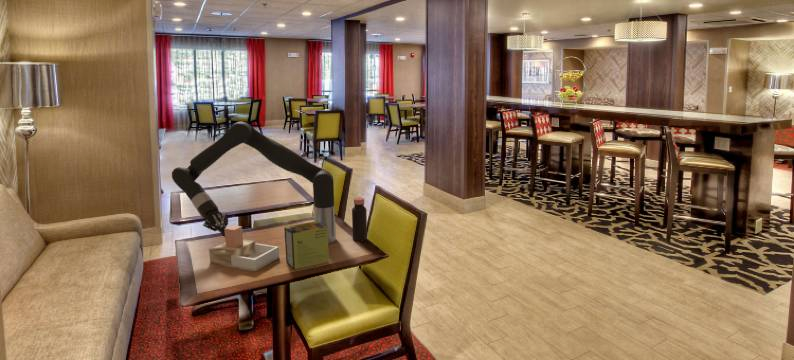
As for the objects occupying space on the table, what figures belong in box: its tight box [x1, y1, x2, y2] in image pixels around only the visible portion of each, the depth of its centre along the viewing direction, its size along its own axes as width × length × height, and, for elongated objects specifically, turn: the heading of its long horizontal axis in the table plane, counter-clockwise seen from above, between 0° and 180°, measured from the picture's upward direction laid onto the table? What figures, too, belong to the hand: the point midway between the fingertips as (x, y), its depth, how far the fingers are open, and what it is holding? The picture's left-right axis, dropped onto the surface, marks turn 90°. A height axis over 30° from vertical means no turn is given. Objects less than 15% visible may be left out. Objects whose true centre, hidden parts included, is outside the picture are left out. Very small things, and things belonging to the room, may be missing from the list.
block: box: [224, 224, 244, 248], centre depth 213 cm, size 5×5×8 cm
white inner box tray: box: [231, 242, 280, 272], centre depth 211 cm, size 16×12×5 cm
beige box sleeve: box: [208, 238, 256, 268], centre depth 215 cm, size 16×11×6 cm
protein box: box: [283, 220, 330, 270], centre depth 210 cm, size 10×15×16 cm
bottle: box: [351, 196, 368, 242], centre depth 236 cm, size 7×7×20 cm
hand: (227, 235), depth 215 cm, fingers closed
